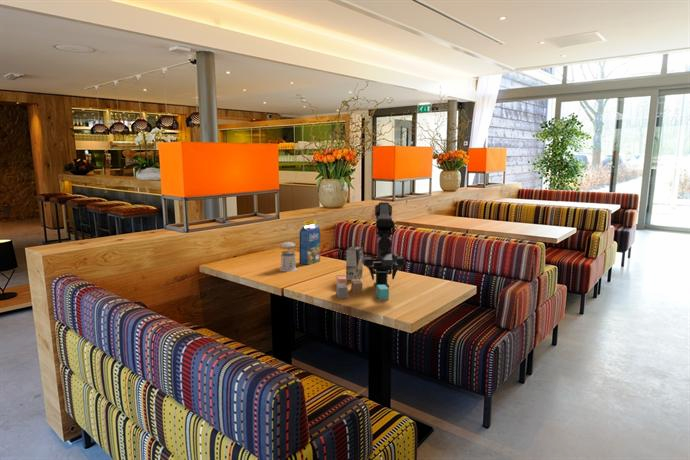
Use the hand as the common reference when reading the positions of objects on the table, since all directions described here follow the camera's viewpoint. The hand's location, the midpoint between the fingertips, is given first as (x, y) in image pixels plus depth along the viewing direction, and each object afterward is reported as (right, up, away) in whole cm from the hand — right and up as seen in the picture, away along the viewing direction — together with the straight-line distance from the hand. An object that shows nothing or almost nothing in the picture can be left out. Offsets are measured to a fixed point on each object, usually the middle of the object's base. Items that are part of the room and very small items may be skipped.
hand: (382, 279), depth 203 cm
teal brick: (0, -8, +1) cm, 8 cm away
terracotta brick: (-19, -5, +16) cm, 25 cm away
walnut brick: (-12, -7, +9) cm, 16 cm away
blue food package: (-38, +3, +63) cm, 74 cm away
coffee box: (-12, -3, +31) cm, 34 cm away
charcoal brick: (-19, -8, +2) cm, 20 cm away
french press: (-48, 0, +46) cm, 67 cm away
